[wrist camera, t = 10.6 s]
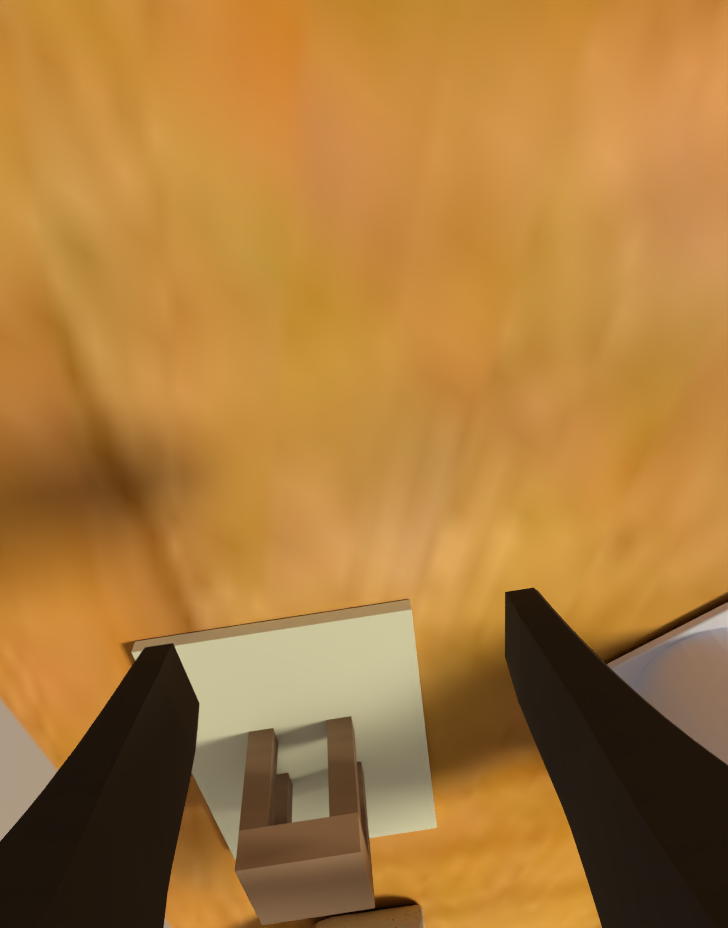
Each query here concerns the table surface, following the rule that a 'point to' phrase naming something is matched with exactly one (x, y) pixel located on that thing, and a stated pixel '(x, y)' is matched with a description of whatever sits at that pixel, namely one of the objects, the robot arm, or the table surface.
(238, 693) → the mat
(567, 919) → the table surface
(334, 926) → the ceramic mug
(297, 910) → the stool
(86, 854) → the robot arm
